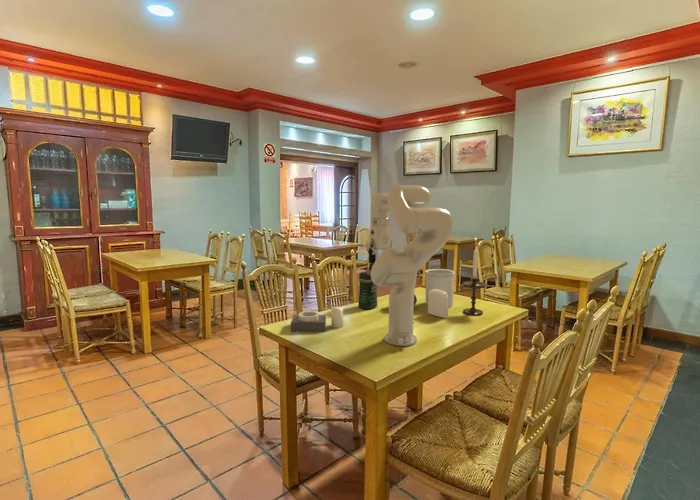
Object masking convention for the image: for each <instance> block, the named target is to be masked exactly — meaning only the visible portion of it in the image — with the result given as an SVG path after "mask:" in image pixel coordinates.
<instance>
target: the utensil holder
mask: <svg viewBox="0 0 700 500" xmlns="http://www.w3.org/2000/svg"><path fill="white" fill-rule="evenodd" d="M424 274H425V304H426V306H428V293H429V291H430V290H433V289H438V290H442V291H444V292H446V293H447V294H448V296H449V301H448V308H450V307H453V304H454V294H455V293H454V292H455V291H454V286H455V283H454V282H455V271H454V270H452V269H446V268H434V269H433V268H432V269H430V268H429V269H426V270H425V271H424Z"/></svg>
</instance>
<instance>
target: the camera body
mask: <svg viewBox="0 0 700 500" xmlns="http://www.w3.org/2000/svg"><path fill="white" fill-rule="evenodd" d="M326 325H327V315H326V314H320V313H319V312H318V311H313V310H312V311H311V310H308V311H307V310H305V311H300V312H299V313H298V314H294V315H293V317H292V319H291V320H290V332H291V333H294V332H295V333H297V332H296V331H308V332H307V333H317V332H319V333H323V332H326Z"/></svg>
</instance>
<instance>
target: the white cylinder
mask: <svg viewBox="0 0 700 500" xmlns="http://www.w3.org/2000/svg"><path fill="white" fill-rule="evenodd" d="M330 317H331V320H330V321H331V328H333V329H341V328H343V327H344V307H343V306H332V307H331V316H330Z"/></svg>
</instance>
